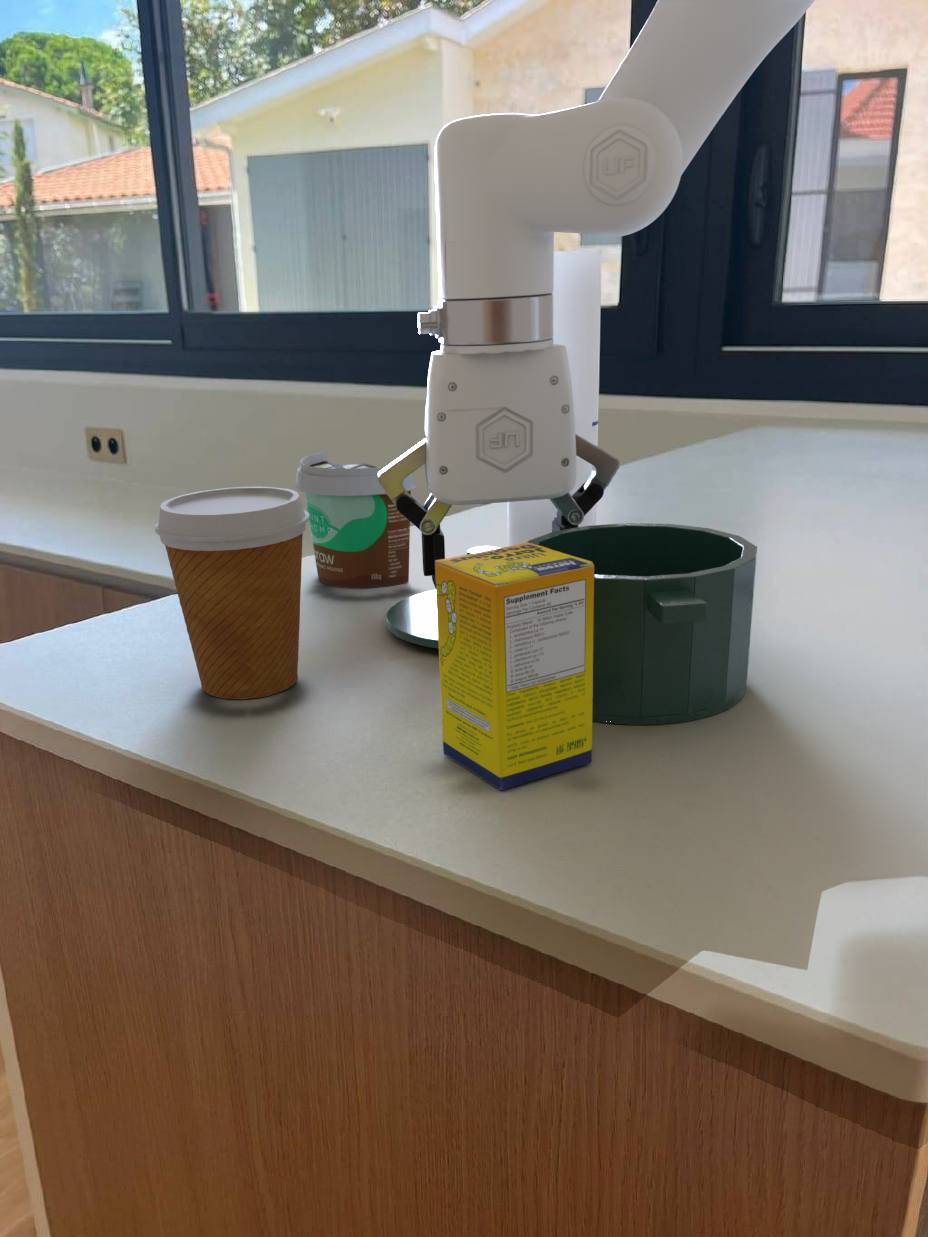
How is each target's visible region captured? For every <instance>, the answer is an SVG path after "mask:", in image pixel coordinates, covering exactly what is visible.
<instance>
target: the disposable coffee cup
mask: <svg viewBox="0 0 928 1237" xmlns="http://www.w3.org/2000/svg"><path fill="white" fill-rule="evenodd" d="M158 514H159V515H158V516H159V517H158V522H157V523H155V525H154V531H155V533H156V535H158V536H159V539H160V542H161V543H162V544H163V545H164V547H165V551H166V554H167V558H168V563H169V566H170V570H171V574H172V578H173V580H174V586H175V588H176V593H177V597H178V601H179V604H180V608H181V612H182V615H183V620H184V623H185V626H186V627H185V628H186V632H187V635H188V640H189V642H190V646H191V650H192V654H193V658H194V661H195V665H196V669H197V673H198V677H199V680H200V686H201V689H202V691H203V692H204V693H206V694H208V695H209V696H212V697H215V698H220V699H229V700H248V699H249V700H250V699H255V698H264V697H269V696H271V695H275V694H278V693H281V692H284V691H286V690H289V688H291V687H293V686H294V685H295V684H296V683H297V682H298V676H299V673H298V671H299V647H300V645H299V644H300V625H301V624H300V623H301V621H300V620H301V619H300V618H301V593H302V591H301V590H302V586H301V585H302V563H303V562H302V561H303V560H302V559H303V537H304V532H305V531H306V528H307V527H306V526H307V523H308V522H309V513H308V512H307V509H304V507H303V502H302V499H301V496H300V494H299V492H298V491H296V490H293V489H290V488H286V487H285V488H284V487H275V486H233V487H224V488H215V489H213V488H212V489H206V490H200V491H194V492H190V493H189V492H188V493H184V494H181V495H178V496H174V497H171V498H168V499H166V500H164V501H162V502H161V504H160V505H159V513H158Z"/></svg>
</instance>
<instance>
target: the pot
mask: <svg viewBox="0 0 928 1237" xmlns="http://www.w3.org/2000/svg"><path fill="white" fill-rule="evenodd" d="M527 543H533V544H536V545H540V546H543V547H546V548H549V549H552V550H555V551H558V552H562V553H565V554H568V555H571V556H575V557H578V558H582V559H585V560H588V561H591V562H593V564H594V606H593V607H594V613H593V699H592V701H593V705H592V722H595V723H603V724H612V725H613V724H614V725H630V726H638V725H639V726H650V725H669V724H679V723H685V722H691V721H695V720H700V719H704V718H708V717H710V716H714V715H717V714H720V713H722V712H725V711H727V710H729V709H730V708H733V707H734V706H735V705H737V704H738V703H740V701H742V699H743V697H745V695H746V691H747V683H748V673H749V661H750V649H751V637H752V636H751V635H752V622H753V610H754V597H755V596H754V595H755V583H756V570H757V559H758V558H757V556H758V546H756V545H755V544H754V543H753V542H751V541H749V540H747V539H745V538H744V537H742V536H740V535H737V534H733V533H729V532H725V531H722V530H718V529H714V528H709V527H700V526H692V525H685V524H684V525H683V524H676V523H645V522H644V523H643V522H625V523H623V522H622V523H611V524H610V523H609V524H596V525H592V526H583V527H578V528H572V529H566V530H560V531H555V532H551V533H548V534H546V535H543V536H540V537H537V538H535V539H532V540H529V541H528V542H527ZM606 721H607V722H606ZM610 721H611V722H610Z"/></svg>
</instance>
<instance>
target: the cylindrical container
mask: <svg viewBox="0 0 928 1237" xmlns="http://www.w3.org/2000/svg"><path fill="white" fill-rule="evenodd" d="M602 250H603V249H602V248H598V249H580V250H578V249H577V250H562V251H554V292H553V293H552V294H553V344H558V345H564V346H565V347H566V351H567V356H568V361H569V368H570V375H571V383H572V393H573V405H574V419H575V434H577V435H578V436H580V437H582V438H584V439H585V440H587V441H589V442H590V443H592V444H594V445H596V446H597V447H599V422H598V421H599V404H600V401H599V399H600V354H601V353H600V352H601V310H602V308H601V305H602V304H601V303H602V302H601V300H602V299H601V298H602V259H603V257H602V255H603V251H602ZM567 460H568V459H567ZM591 472H592V465H591V464H590V463H588V462H587V461H585V460H583V459H582V458H580V457H578V456H576V481H575V485H574V487H573V489H572V490H571V491H570V492H569V493H570V495H571V496H572V495H573V494H574V493H575V492H576V491H577V490H578V489H579V488H580V487H581V486H582V485H583V484H584V483H585V482H586V481H587V480H588V478H589V477H590V474H591ZM506 503H507V504H506V506H507V507H506V508H507V510H506V511H507V547H508V546H513V545H519V544H523V543H527V542H528V541H529V540H532V539H535V538H537V537H540V536H543V535H546V534H548V533H551V532H552V521H553V520H554V517H557V511H558V510H557V509H556V507H555V506H554V505H553V503H552V502H551V500H550V499H543V500H530V501H516V502H506ZM597 505H598V502H597V503H596V504H595V505H594V506H593V507H592V509H591V510H590V511H589V512H588V513H587V514H586V515H585V516H584V519H583V521H582V522H581V523H580V524H579V525H578V527H583V526H592V525H597Z"/></svg>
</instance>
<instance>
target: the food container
mask: <svg viewBox="0 0 928 1237" xmlns="http://www.w3.org/2000/svg"><path fill="white" fill-rule="evenodd" d="M328 458H329V457H328V452H327V450H326V451H321V452H317V453H313V454H309V455H307V456H304V457H303V458H300V461H299V465H300V466H298V467H297V470H296V480H295V489H297V490H298V491H300V492H302V493H303V494H304V500H305V505H306V511H307V512H308V513H309V520H308V524H309V530H310V537H311V541H312V542H311V543H312V548H313V554H314V561H315V567H316V573H317V578H318V581H319V582H321V583H323V584H324V585H328V586H331V587H335V588H336V587H337V588H342V589H343V588H345V589H376V588H384V587H391V586H397V585H402V584H406V583H409V582H410V580H409V579H410V542H411V541H410V539H411V534H410V533H411V522H410V521H409V520H408V519H407V518H406V517H405V516H404V515H403V514H401V513H400V512H399V511H398V509H397V507H396V506H395V505H394V503H393V502H392V501H391V499H390V498H389V496H388V495H387V493H386V492H385V491H384V489H383V488H382V486H381V485H380V483H379V481H378V473H379V472H380V471H381V470H382V469H383V468H385V467H386V466H375V465H373V464H369V463H366V462H362V463H361V462H358V463H349V464H347V463H346V464H345V463H344V464H343V463H336V462H331V461H330V462H329V460H328ZM414 474H415V473H414V472H413V473H411V474H410V475H408V476H407V477H406V478H405V479H404V480H403V486H404V488H405V489H406V491H407V492H408V494H409V495H410V496H411V497H412V494H411V493H412V491H414V490H417V486H416V480H415V475H414Z"/></svg>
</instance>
